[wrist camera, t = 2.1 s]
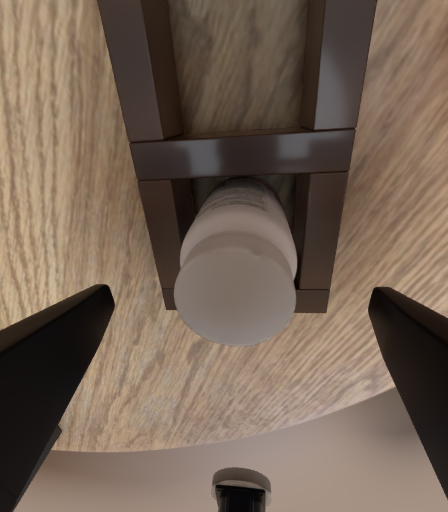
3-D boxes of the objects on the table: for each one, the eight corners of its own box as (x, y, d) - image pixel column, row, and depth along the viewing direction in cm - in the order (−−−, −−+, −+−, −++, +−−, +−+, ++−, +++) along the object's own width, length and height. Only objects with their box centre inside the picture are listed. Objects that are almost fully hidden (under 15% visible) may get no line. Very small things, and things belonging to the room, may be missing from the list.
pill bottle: (283, 247, 16) (306, 356, 9) (210, 251, 17) (176, 355, 10) (283, 170, 14) (313, 232, 7) (198, 178, 15) (143, 242, 8)
